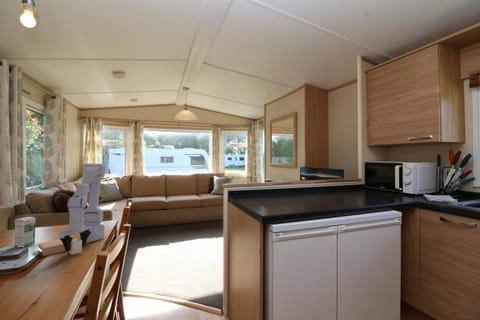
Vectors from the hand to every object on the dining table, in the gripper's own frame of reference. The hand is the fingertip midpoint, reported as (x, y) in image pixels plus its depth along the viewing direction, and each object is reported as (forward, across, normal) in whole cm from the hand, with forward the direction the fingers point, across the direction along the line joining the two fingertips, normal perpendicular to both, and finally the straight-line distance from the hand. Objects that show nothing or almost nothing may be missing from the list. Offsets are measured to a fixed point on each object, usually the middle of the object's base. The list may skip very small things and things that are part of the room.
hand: (75, 248), depth 110 cm
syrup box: (+2, +2, -33) cm, 33 cm away
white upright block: (+2, 0, 0) cm, 2 cm away
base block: (+2, +2, -12) cm, 13 cm away
